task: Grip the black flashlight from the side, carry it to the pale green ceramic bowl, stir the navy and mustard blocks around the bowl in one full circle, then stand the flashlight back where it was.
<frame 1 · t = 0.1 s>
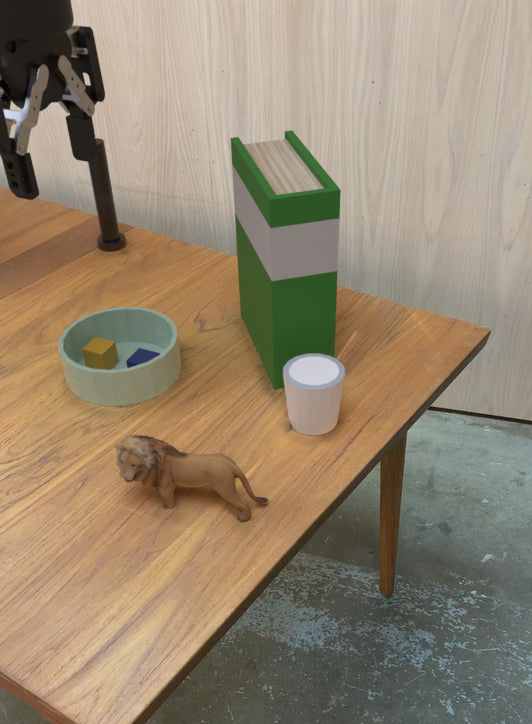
hand: (57, 177, 68), 30 cm above the table, tool pointing down, fingers open, 8 cm apart
mustard block: (102, 365, 98), point 1 cm above the table, touching bowl
lion figurine: (192, 508, 80), on the table
hardback book: (284, 349, 101), on the table
white cup: (313, 421, 90), on the table
bowl: (125, 375, 97), on the table
navy block: (146, 377, 96), point 1 cm above the table, touching bowl
black flashlight: (112, 244, 123), on the table
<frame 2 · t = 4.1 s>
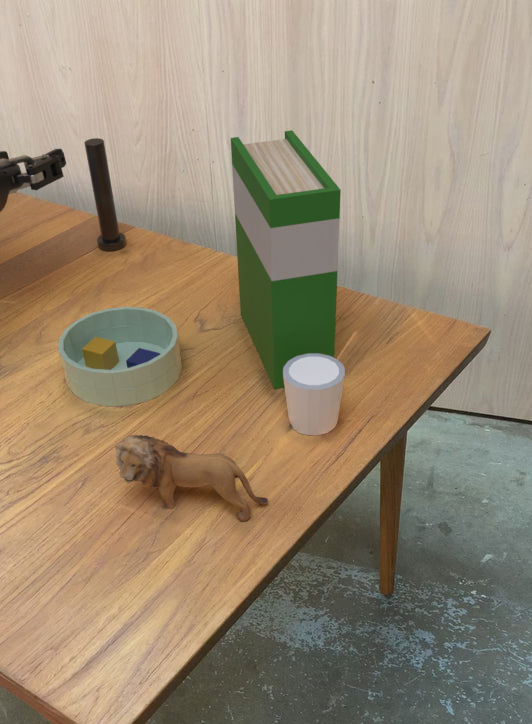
hand: (33, 157, 102), 18 cm above the table, tool horizontal, fingers open, 8 cm apart
nothing on the table moved.
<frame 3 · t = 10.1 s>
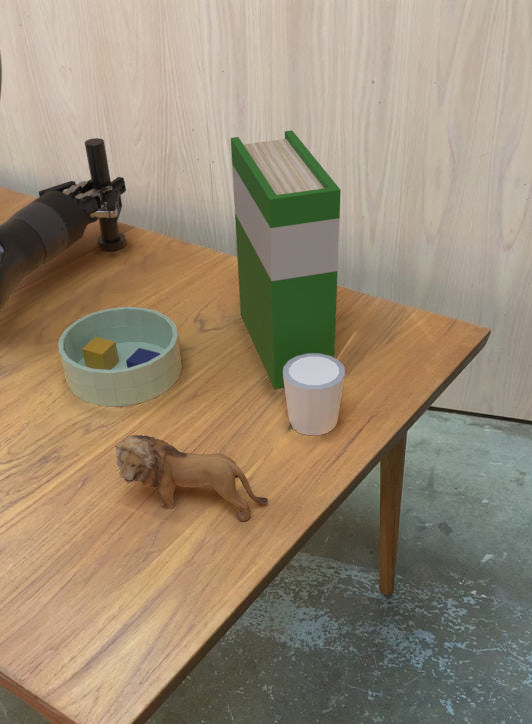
hand: (112, 181, 119), 9 cm above the table, tool horizontal, fingers closed on black flashlight, 3 cm apart
black flashlight: (112, 244, 123), on the table, touching gripper
everything else where it was.
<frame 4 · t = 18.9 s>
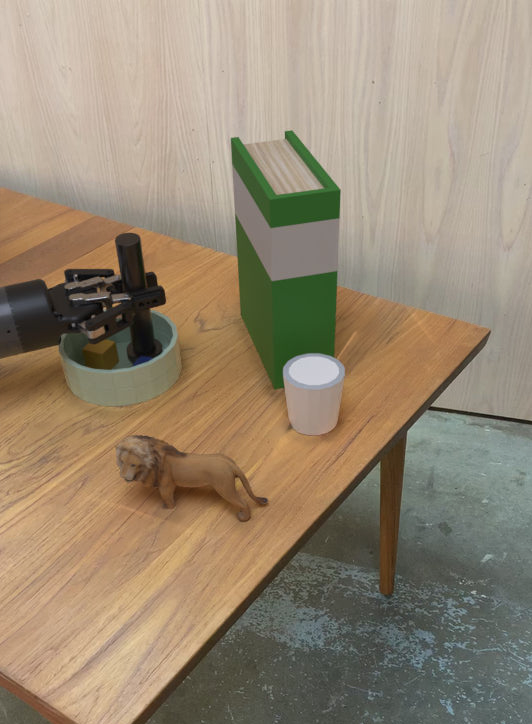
hand: (159, 287, 91), 11 cm above the table, tool horizontal, fingers closed on black flashlight, 3 cm apart
navy block: (149, 384, 95), point 1 cm above the table, touching bowl, black flashlight
black flashlight: (145, 355, 97), point 2 cm above the table, touching gripper, navy block
everything else where it was.
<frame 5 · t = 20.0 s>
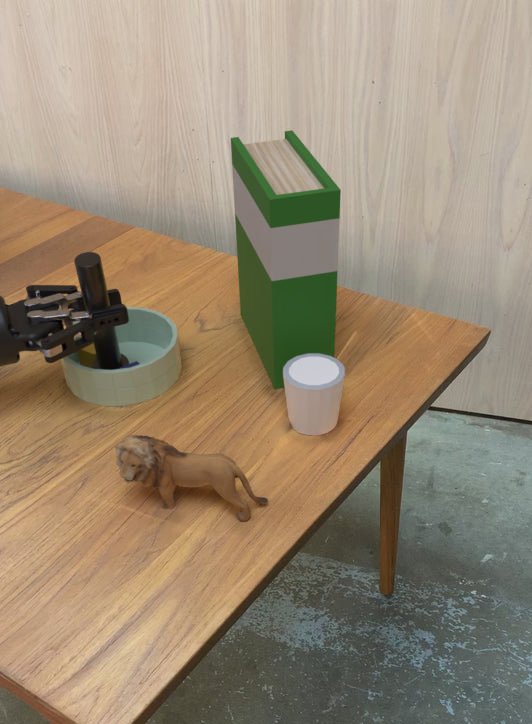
hand: (123, 305, 89), 11 cm above the table, tool horizontal, fingers closed on black flashlight, 3 cm apart
mustard block: (97, 365, 98), point 1 cm above the table, touching black flashlight
navy block: (135, 391, 94), point 1 cm above the table, touching bowl
black flashlight: (112, 371, 95), point 2 cm above the table, tilted 7°, touching gripper, mustard block
everything else where it was.
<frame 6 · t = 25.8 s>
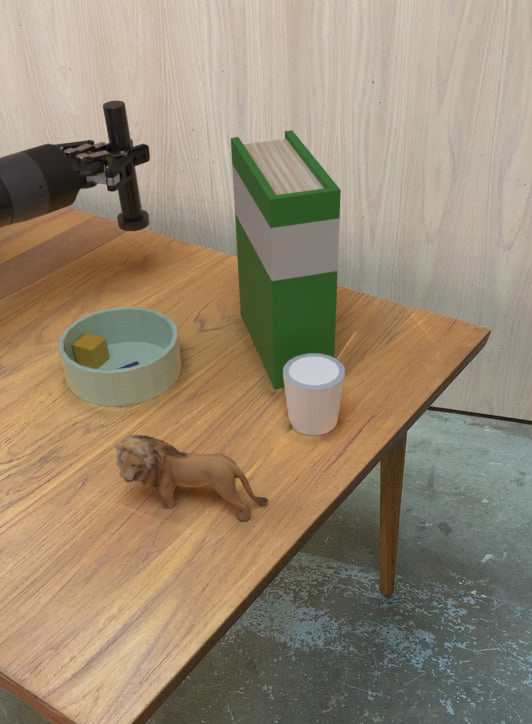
hand: (138, 148, 104), 18 cm above the table, tool horizontal, fingers closed on black flashlight, 3 cm apart
mustard block: (93, 361, 99), point 1 cm above the table, touching bowl
black flashlight: (134, 224, 109), point 9 cm above the table, touching gripper
everything else where it was.
when the fingers open (10 cm above the table, at t = 30.6 s): black flashlight stays where it is, on the table.
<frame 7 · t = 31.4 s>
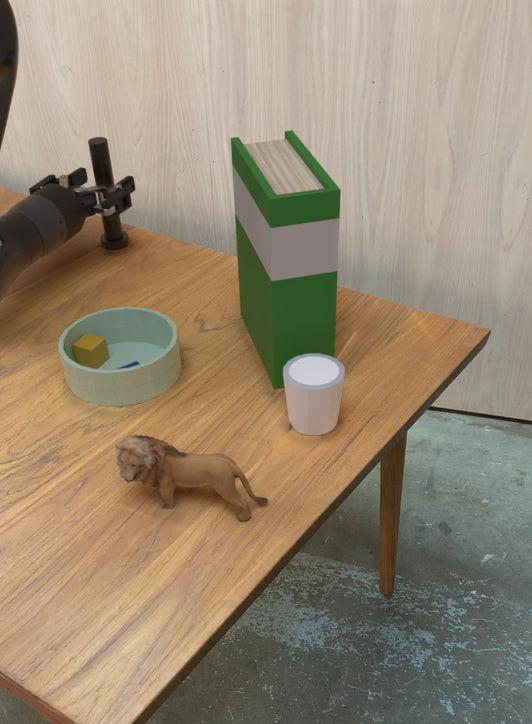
hand: (108, 177, 118), 10 cm above the table, tool horizontal, fingers open, 8 cm apart
black flashlight: (115, 243, 124), on the table
everything else where it was.
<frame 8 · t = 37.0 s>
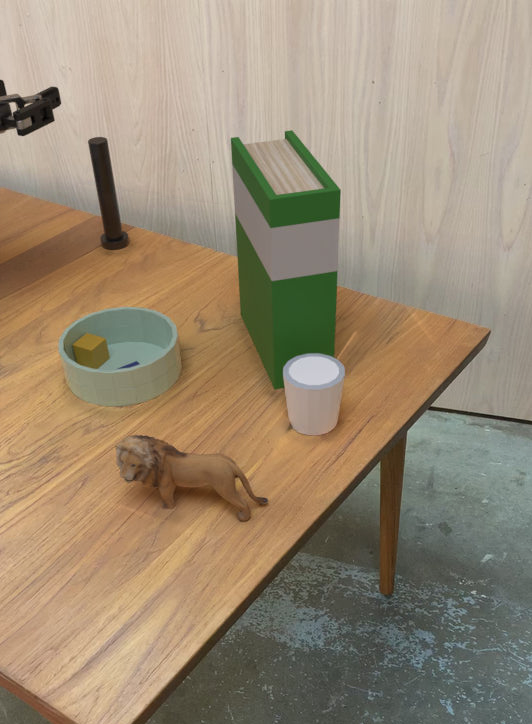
hand: (29, 91, 98), 26 cm above the table, tool horizontal, fingers open, 8 cm apart
nothing on the table moved.
at the end: navy block moved 3.1 cm from its start; navy block inside the target area in the bowl (4.6 cm from its centre), point 0.6 cm above the bowl's base; black flashlight tilted 0° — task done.
